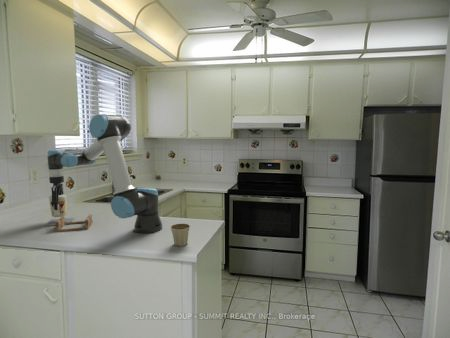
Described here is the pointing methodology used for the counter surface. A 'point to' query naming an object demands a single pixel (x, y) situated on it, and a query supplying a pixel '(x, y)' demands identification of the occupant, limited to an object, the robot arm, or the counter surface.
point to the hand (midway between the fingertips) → (59, 213)
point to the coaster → (52, 221)
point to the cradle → (61, 223)
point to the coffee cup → (62, 205)
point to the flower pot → (180, 233)
